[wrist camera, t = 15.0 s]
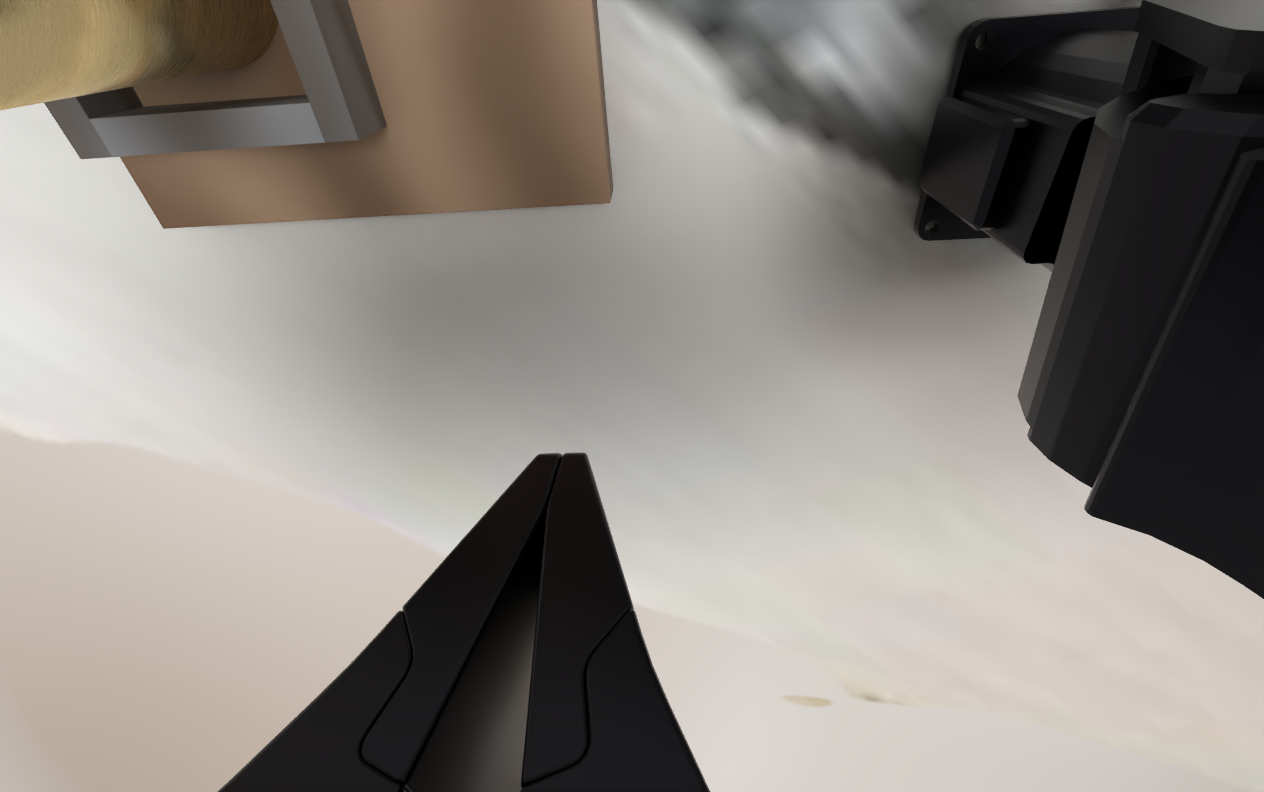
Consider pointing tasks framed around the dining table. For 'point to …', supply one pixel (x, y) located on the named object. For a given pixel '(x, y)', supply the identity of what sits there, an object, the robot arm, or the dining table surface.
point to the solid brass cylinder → (122, 43)
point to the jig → (370, 116)
